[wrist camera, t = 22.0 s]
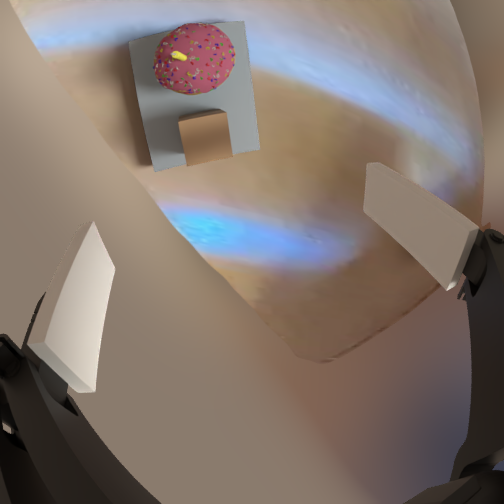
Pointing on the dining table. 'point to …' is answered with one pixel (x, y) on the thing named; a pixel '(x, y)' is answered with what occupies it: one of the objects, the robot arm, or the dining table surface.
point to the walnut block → (205, 136)
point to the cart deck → (193, 100)
